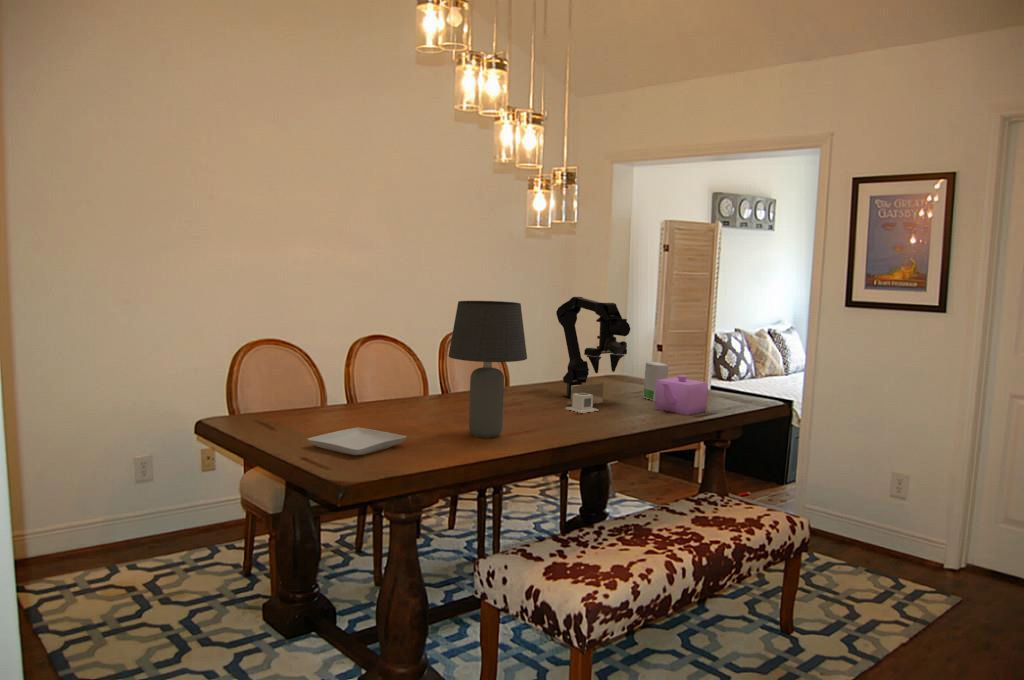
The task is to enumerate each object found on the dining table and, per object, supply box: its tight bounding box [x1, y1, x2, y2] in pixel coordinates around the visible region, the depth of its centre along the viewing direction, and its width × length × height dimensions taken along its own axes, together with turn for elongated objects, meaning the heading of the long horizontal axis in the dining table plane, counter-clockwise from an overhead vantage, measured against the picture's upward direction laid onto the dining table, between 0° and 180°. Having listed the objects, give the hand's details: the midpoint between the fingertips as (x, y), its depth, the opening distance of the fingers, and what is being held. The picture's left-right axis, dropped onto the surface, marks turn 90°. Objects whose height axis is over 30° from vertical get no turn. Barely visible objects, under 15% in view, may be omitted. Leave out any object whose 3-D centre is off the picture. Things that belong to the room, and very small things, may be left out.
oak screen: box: [567, 382, 604, 406], centre depth 306 cm, size 5×16×8 cm, turn 127°
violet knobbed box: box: [654, 374, 709, 416], centre depth 299 cm, size 15×25×14 cm, turn 133°
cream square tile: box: [565, 406, 600, 414], centre depth 293 cm, size 9×9×1 cm
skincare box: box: [642, 361, 669, 402], centre depth 322 cm, size 8×7×16 cm
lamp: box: [448, 300, 528, 439], centre depth 243 cm, size 25×25×43 cm
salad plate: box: [306, 427, 407, 456], centre depth 225 cm, size 21×21×3 cm
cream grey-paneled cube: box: [571, 393, 594, 410], centre depth 292 cm, size 6×6×6 cm
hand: (604, 372), depth 306 cm, fingers open, 9 cm apart
